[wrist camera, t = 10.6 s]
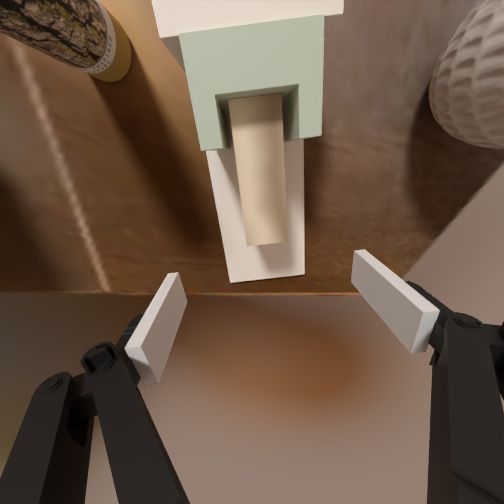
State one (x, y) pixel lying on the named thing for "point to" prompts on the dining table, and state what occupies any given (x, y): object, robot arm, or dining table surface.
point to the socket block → (256, 74)
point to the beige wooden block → (260, 166)
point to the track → (223, 161)
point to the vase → (472, 79)
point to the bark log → (70, 34)
